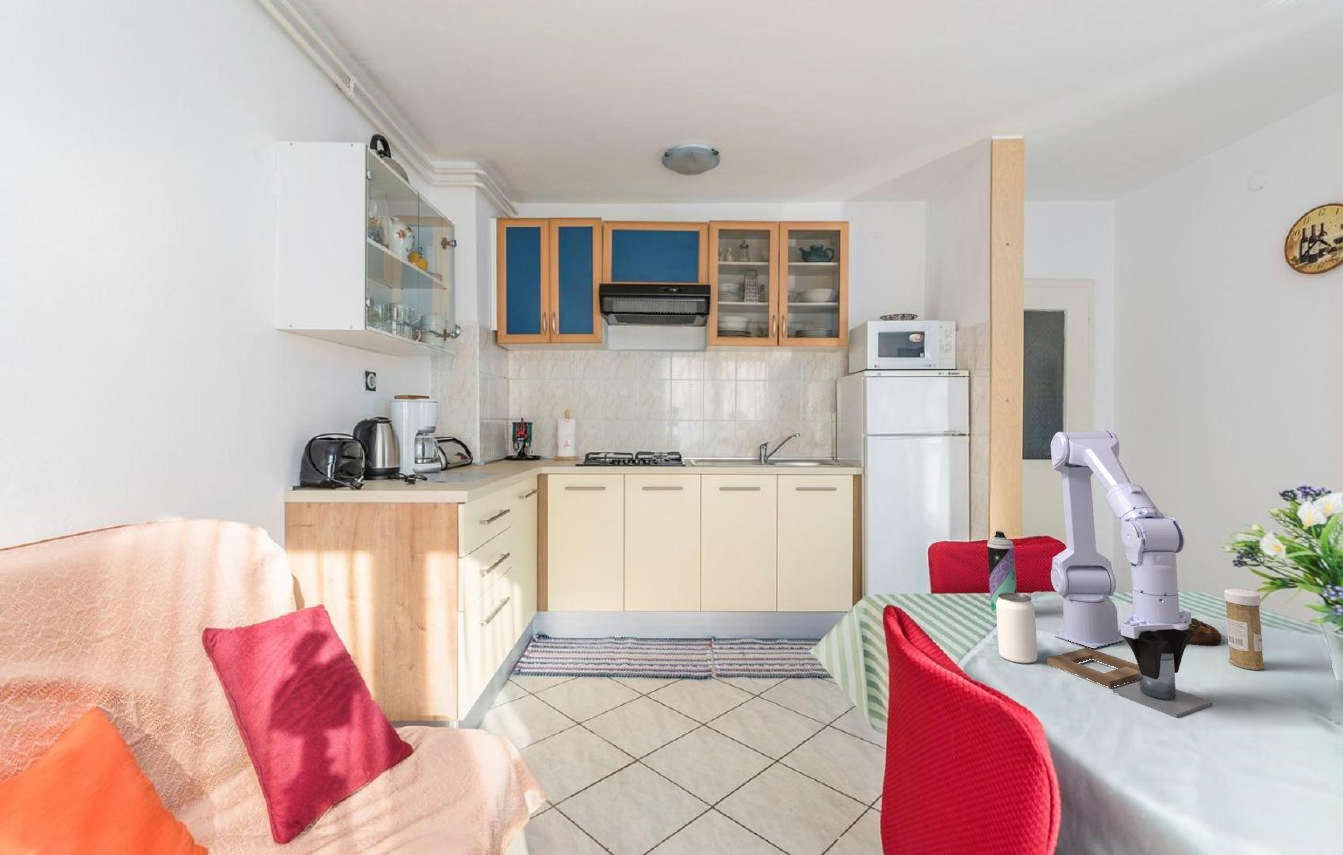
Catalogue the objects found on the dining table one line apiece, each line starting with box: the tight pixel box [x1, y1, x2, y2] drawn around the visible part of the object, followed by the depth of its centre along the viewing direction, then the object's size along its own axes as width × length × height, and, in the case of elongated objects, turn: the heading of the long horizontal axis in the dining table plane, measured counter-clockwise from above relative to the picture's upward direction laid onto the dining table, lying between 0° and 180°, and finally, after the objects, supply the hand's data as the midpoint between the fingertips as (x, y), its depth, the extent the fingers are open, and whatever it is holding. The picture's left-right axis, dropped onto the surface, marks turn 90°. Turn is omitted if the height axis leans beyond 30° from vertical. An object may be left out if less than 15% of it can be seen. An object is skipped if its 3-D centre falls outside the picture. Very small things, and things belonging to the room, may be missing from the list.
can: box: [996, 592, 1038, 665], centre depth 108 cm, size 6×6×12 cm
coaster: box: [1112, 681, 1213, 719], centre depth 90 cm, size 9×9×1 cm
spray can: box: [986, 530, 1017, 618], centre depth 131 cm, size 6×6×20 cm
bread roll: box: [1187, 617, 1223, 647], centre depth 114 cm, size 11×11×5 cm
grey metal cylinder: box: [1138, 648, 1177, 699], centre depth 91 cm, size 4×4×7 cm
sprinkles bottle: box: [1223, 588, 1265, 671], centre depth 100 cm, size 5×5×14 cm
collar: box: [1046, 647, 1139, 689], centre depth 101 cm, size 11×11×1 cm
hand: (1159, 673), depth 90 cm, fingers closed on grey metal cylinder, 4 cm apart
